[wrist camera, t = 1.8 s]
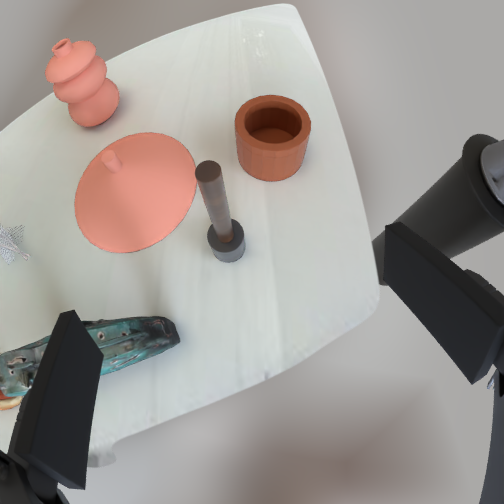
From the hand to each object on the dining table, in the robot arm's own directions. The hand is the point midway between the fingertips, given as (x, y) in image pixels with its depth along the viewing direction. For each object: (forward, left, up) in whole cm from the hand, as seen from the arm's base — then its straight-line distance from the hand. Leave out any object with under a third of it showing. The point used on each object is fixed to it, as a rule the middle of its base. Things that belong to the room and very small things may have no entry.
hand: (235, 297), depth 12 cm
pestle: (+7, -8, -28) cm, 30 cm away
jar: (+8, -24, -28) cm, 38 cm away
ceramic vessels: (+31, -14, -28) cm, 44 cm away
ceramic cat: (+14, +12, -28) cm, 34 cm away
